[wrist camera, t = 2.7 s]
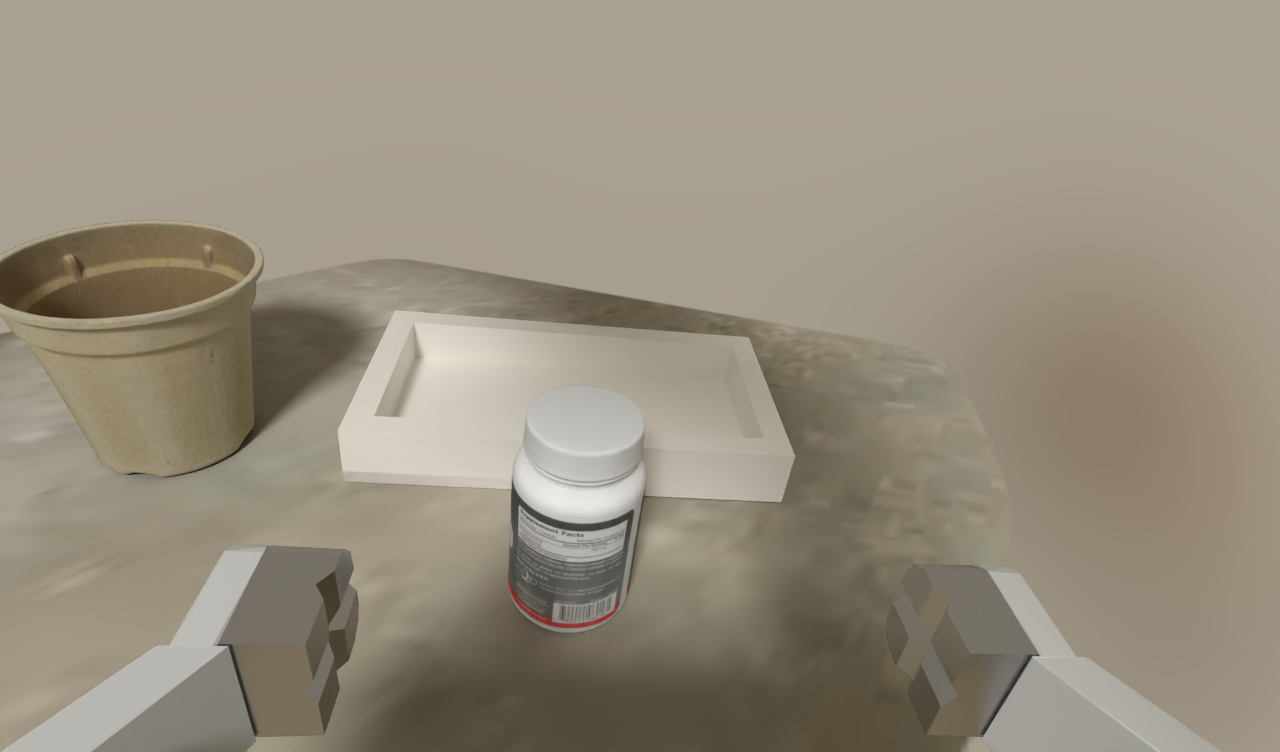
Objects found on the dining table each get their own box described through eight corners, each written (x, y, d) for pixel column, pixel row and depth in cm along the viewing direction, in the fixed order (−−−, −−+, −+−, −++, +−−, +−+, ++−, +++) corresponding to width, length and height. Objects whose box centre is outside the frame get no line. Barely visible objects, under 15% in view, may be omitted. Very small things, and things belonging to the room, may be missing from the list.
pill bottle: (547, 527, 31) (559, 362, 26) (646, 570, 30) (677, 403, 25) (483, 604, 27) (484, 426, 23) (594, 657, 26) (618, 479, 21)
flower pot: (171, 537, 28) (112, 346, 23) (-8, 465, 30) (-95, 277, 25) (334, 413, 36) (313, 252, 31) (182, 363, 38) (142, 204, 33)
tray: (343, 481, 32) (337, 430, 30) (398, 353, 41) (395, 310, 39) (781, 502, 34) (795, 456, 33) (739, 377, 43) (748, 337, 42)
